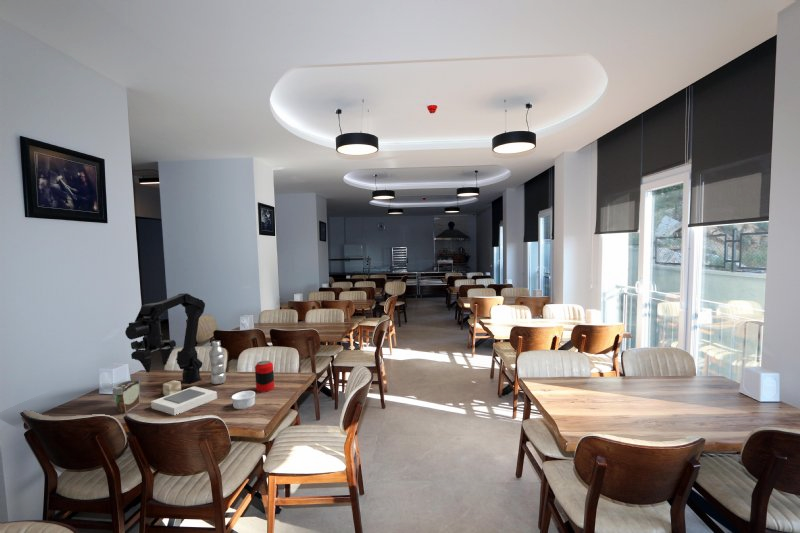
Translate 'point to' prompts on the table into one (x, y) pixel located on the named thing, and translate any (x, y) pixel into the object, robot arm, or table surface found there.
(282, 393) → the table surface
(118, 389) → the food container
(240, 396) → the ramekin
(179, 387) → the birch block
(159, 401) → the base
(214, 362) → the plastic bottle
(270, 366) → the soda can
